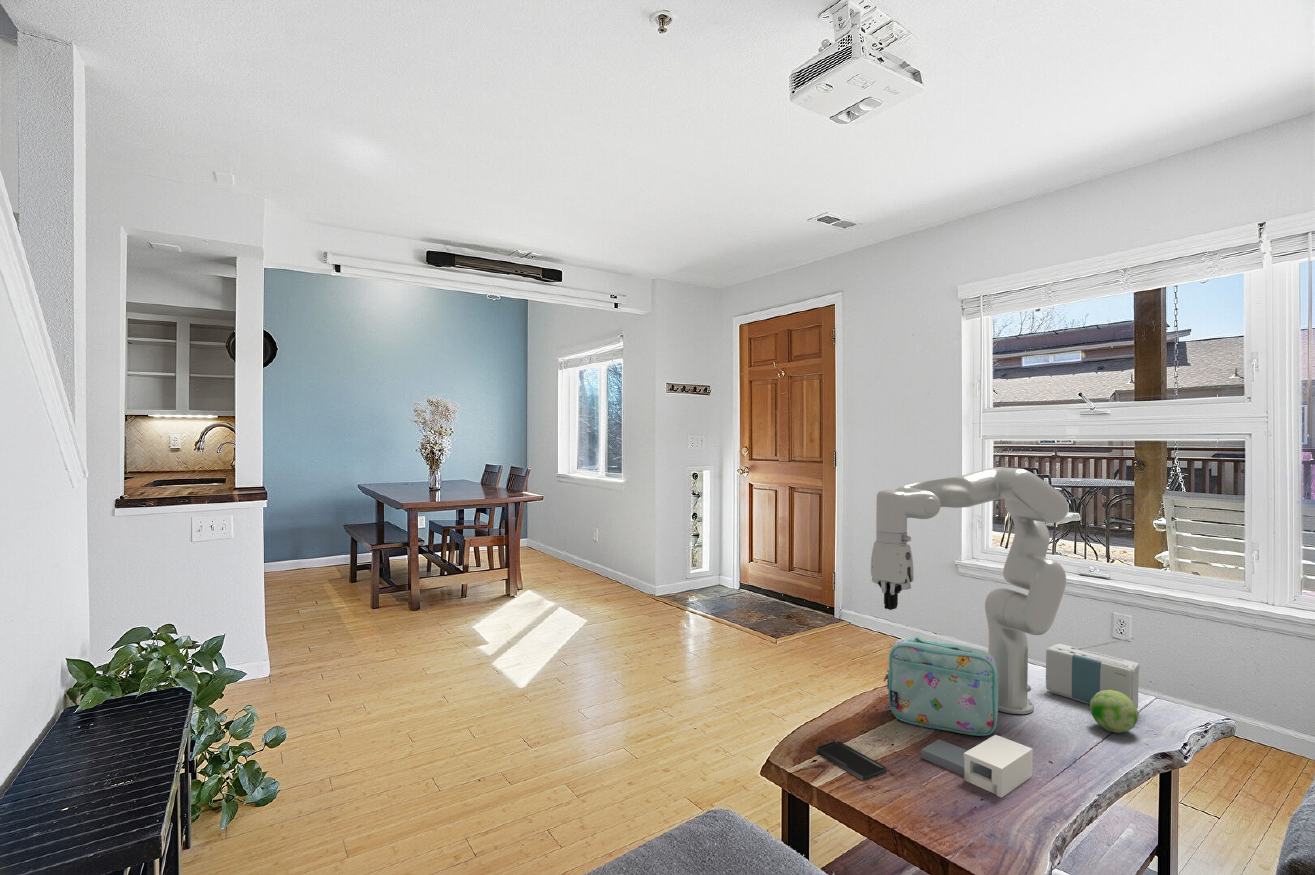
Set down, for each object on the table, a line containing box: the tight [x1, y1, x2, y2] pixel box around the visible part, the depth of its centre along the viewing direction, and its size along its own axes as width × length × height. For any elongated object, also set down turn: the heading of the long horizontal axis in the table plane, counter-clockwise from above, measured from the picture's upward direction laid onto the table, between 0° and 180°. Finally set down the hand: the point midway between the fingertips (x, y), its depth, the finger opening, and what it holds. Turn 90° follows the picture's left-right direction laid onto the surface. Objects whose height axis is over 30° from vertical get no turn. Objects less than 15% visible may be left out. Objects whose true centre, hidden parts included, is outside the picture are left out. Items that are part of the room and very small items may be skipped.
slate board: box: [920, 738, 992, 780], centre depth 144 cm, size 8×16×2 cm, turn 39°
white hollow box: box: [963, 734, 1034, 799], centre depth 140 cm, size 14×8×6 cm, turn 127°
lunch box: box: [883, 635, 999, 737], centre depth 165 cm, size 27×10×21 cm, turn 62°
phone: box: [815, 740, 888, 782], centre depth 146 cm, size 8×1×15 cm
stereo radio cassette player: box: [1045, 636, 1140, 709], centre depth 179 cm, size 21×8×20 cm, turn 36°
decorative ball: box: [1089, 690, 1139, 734], centre depth 162 cm, size 10×10×10 cm
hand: (890, 608), depth 167 cm, fingers closed
